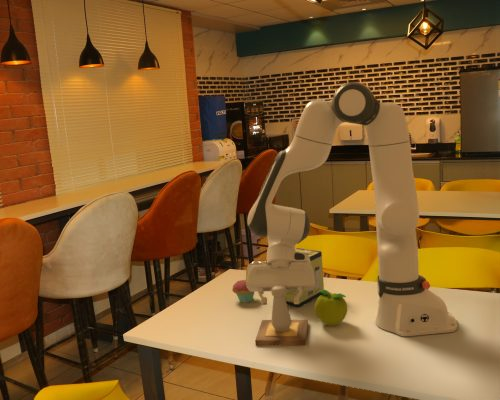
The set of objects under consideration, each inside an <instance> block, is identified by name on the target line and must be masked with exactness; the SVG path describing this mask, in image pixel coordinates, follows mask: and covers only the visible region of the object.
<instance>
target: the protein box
mask: <svg viewBox="0 0 500 400" xmlns="http://www.w3.org/2000/svg"><path fill="white" fill-rule="evenodd" d="M295 251H296V252H300V253H304V254H307V255H308V256H309V258H310V263H311V266H312V269H313V273H314V279H315V288H314V289H313V290H303V295H302V296H301V298H300V299H299V304H294V296H297V295H298V291H286V295H285V299H286V303H287V306H289V307H295V308H298V309H299V308H301V307H303V306H305V305H306V304H308V303H310V302H312V301H313V300H316V299H318V297H319V296H320V295H322V294H323V293H321V292H318V291H320V290H323V289H324V290H325V284H324V271H323V270H324V267H323V255H322V254H323V252H322V251H321V250H316V249H315V250H314V249H313V250H312V249H307V248H301V247H297V248H296V247H295Z"/></svg>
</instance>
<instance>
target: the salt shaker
mask: <svg viewBox="0 0 500 400" xmlns="http://www.w3.org/2000/svg"><path fill="white" fill-rule="evenodd" d="M270 292H271V295H272V297H273V300H272V301H273V302H272V312H271V319H270V320H271V322H272V326H273V327H274V329H275V330H276V331H277V332H286V331H288V330H289V327H290V325H291V320H292V319H291V318H292V317H291V314H290V312H289V308H288V305H287V303H286V299H285V295H286V288H285V287H284V286H274V287H273V288H272V289H271V291H270Z"/></svg>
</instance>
